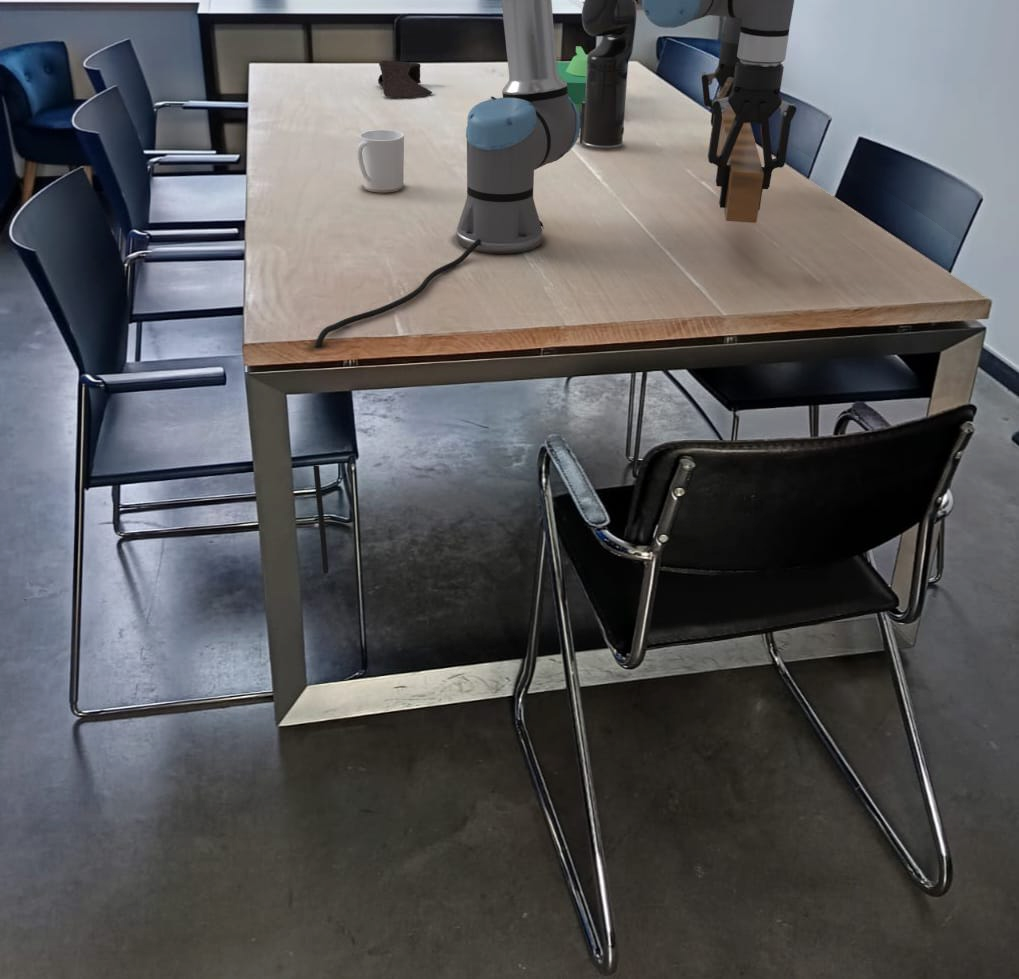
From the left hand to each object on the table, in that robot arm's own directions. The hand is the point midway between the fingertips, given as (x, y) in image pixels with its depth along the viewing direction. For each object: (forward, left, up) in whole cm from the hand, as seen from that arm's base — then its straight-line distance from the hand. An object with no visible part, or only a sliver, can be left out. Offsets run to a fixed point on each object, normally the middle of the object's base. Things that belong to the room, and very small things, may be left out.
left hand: (739, 206), depth 185 cm
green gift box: (+116, +34, -9) cm, 122 cm away
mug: (+29, +69, -9) cm, 76 cm away
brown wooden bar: (+21, 0, -1) cm, 21 cm away
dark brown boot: (+121, +83, -9) cm, 147 cm away
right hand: (+42, 0, +3) cm, 42 cm away
